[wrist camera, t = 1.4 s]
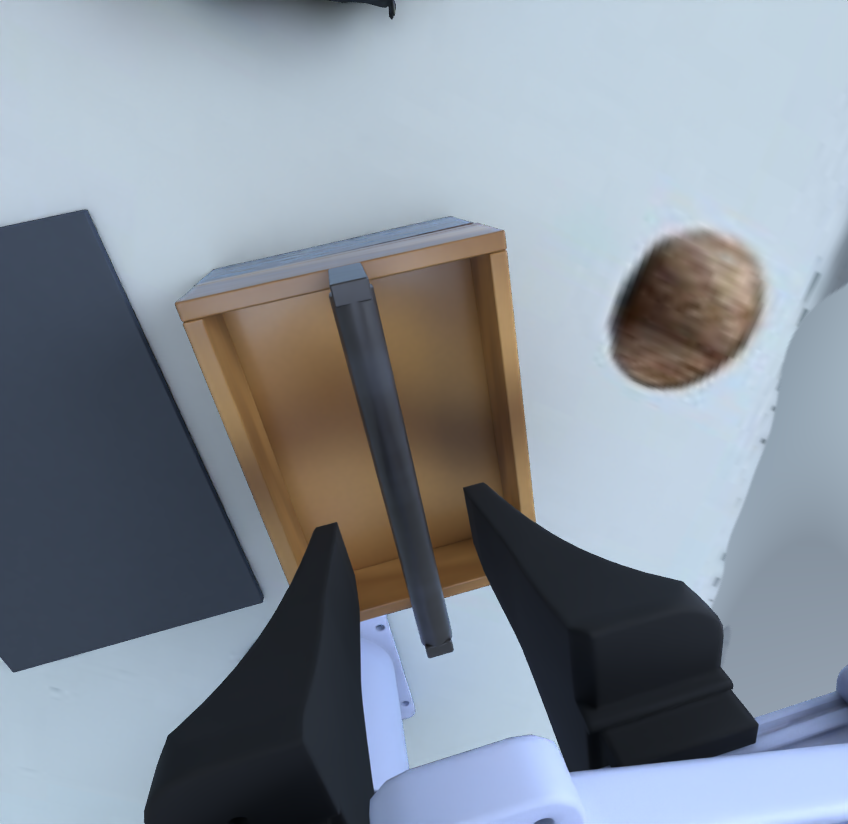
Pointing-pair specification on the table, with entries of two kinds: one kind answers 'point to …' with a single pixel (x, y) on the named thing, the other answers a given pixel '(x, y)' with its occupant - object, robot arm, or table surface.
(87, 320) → the mat
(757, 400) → the table surface
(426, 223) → the dark brown wooden box
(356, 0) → the tape measure
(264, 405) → the box
